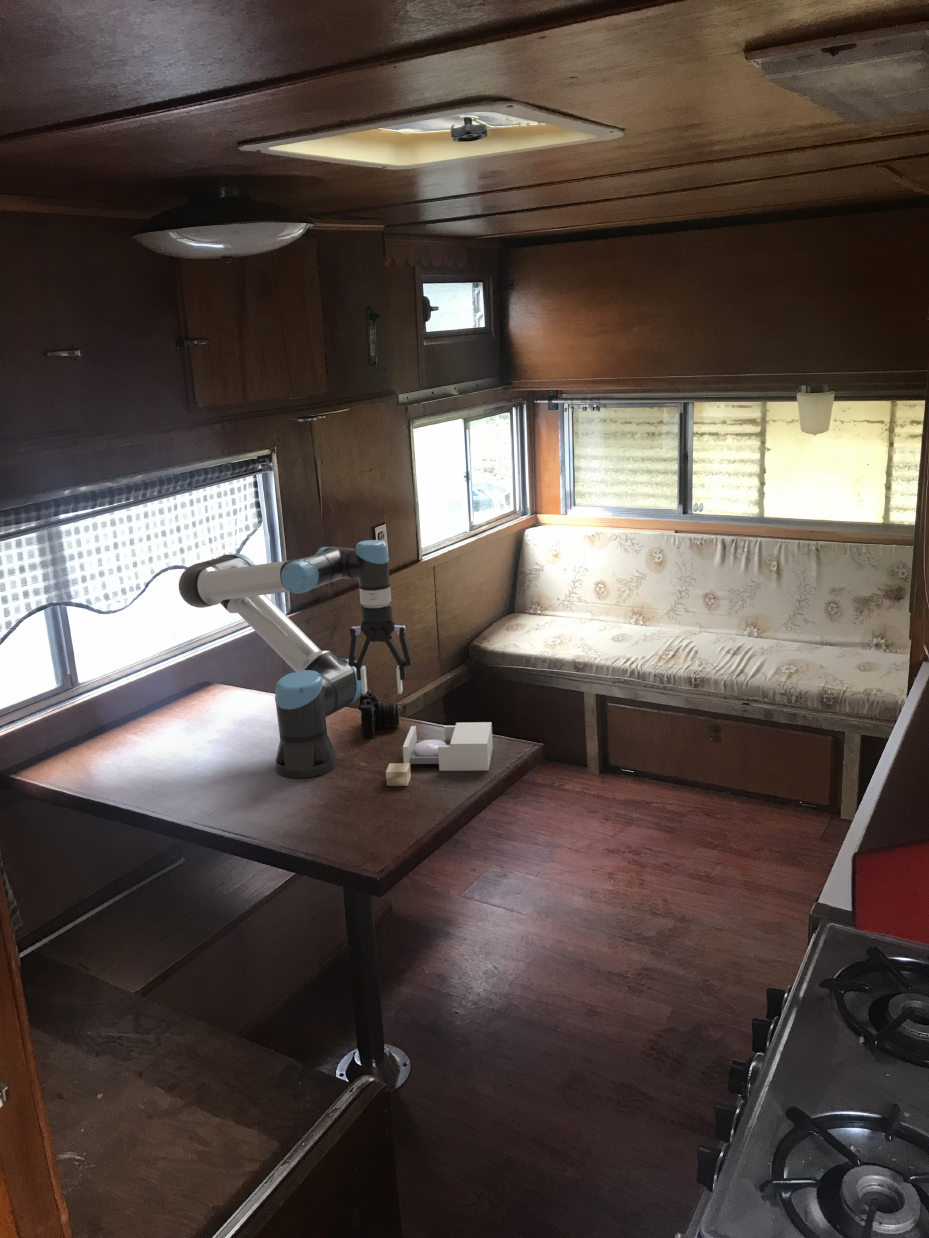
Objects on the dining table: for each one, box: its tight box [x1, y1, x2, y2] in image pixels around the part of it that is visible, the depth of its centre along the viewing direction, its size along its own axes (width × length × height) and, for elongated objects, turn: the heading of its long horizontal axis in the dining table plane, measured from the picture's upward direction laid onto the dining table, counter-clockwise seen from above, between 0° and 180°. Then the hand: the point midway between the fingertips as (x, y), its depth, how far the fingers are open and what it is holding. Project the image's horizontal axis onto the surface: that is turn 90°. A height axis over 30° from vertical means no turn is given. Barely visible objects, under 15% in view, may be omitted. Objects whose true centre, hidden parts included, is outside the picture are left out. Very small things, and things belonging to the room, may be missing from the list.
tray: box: [402, 725, 451, 767], centre depth 247 cm, size 12×14×6 cm
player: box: [438, 721, 494, 772], centre depth 246 cm, size 12×14×7 cm
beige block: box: [385, 762, 412, 787], centre depth 236 cm, size 5×5×4 cm
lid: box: [415, 739, 446, 757], centre depth 247 cm, size 8×8×2 cm
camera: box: [357, 689, 400, 740], centre depth 269 cm, size 14×11×10 cm
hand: (382, 691), depth 247 cm, fingers open, 8 cm apart
